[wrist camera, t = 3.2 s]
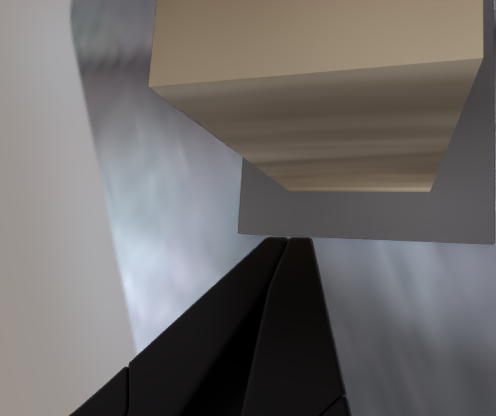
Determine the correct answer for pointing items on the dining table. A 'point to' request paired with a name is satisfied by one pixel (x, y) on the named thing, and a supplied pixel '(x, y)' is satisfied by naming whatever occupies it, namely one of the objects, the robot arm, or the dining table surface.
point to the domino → (323, 84)
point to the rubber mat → (397, 203)
